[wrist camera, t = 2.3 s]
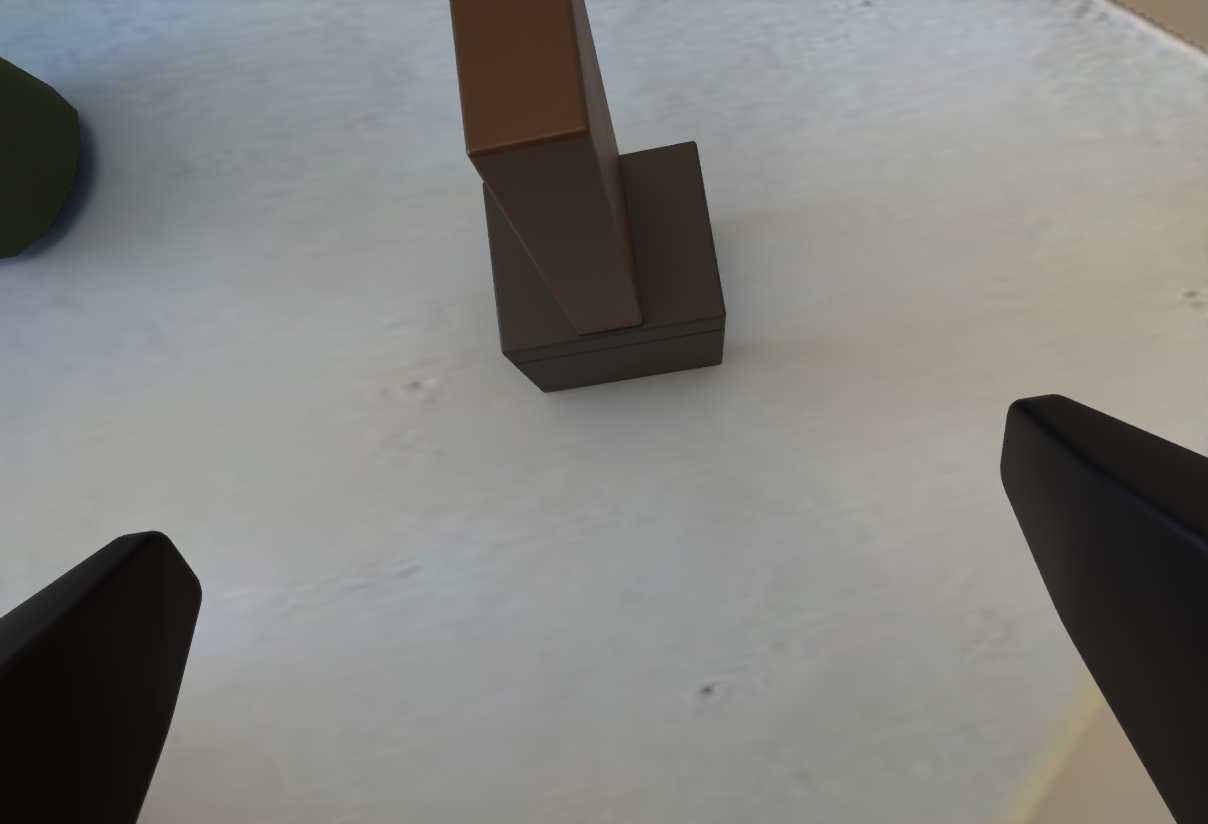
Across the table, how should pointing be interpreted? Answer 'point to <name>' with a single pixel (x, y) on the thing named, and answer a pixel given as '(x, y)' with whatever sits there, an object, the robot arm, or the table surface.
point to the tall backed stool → (580, 208)
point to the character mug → (33, 157)
